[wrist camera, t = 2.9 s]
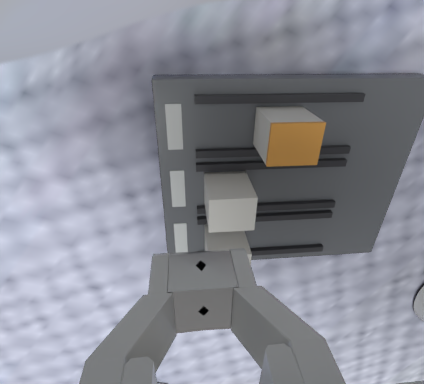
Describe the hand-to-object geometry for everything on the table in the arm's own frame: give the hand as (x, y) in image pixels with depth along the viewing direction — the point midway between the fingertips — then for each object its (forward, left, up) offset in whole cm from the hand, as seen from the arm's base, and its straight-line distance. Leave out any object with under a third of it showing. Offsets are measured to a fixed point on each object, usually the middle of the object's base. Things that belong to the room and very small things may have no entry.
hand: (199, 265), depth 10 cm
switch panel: (-9, +5, -17) cm, 20 cm away
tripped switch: (-7, 0, -15) cm, 16 cm away
